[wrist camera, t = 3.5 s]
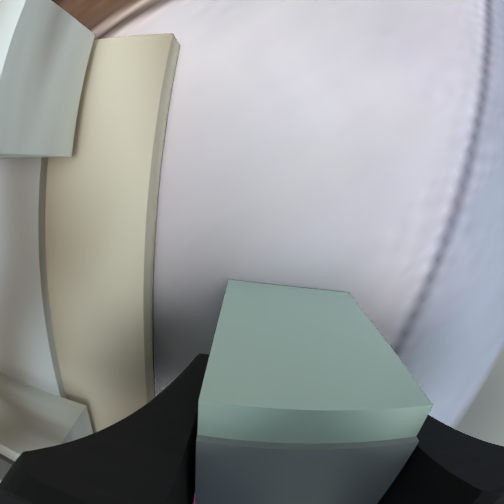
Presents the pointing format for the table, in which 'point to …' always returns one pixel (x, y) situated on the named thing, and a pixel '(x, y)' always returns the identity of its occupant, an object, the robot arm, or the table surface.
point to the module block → (302, 402)
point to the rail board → (76, 223)
